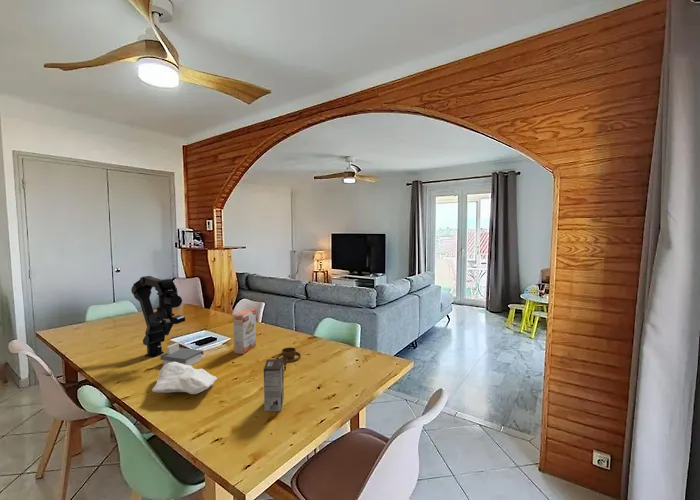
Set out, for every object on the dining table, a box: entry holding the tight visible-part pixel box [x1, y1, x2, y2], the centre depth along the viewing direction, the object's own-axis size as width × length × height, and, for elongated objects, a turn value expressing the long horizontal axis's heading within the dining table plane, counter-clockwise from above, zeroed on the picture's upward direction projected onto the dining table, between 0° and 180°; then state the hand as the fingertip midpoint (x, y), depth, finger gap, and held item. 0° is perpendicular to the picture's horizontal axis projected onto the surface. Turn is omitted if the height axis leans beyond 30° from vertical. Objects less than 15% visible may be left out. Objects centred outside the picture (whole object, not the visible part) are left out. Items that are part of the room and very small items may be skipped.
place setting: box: [272, 346, 302, 371], centre depth 170 cm, size 18×20×6 cm
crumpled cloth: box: [151, 362, 218, 395], centre depth 141 cm, size 24×35×9 cm
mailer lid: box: [159, 342, 204, 363], centre depth 168 cm, size 15×12×6 cm
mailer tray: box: [162, 353, 202, 366], centre depth 168 cm, size 14×10×4 cm
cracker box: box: [233, 308, 257, 355], centre depth 184 cm, size 14×6×21 cm, turn 168°
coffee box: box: [263, 358, 285, 412], centre depth 128 cm, size 9×6×16 cm
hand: (166, 335), depth 170 cm, fingers closed
